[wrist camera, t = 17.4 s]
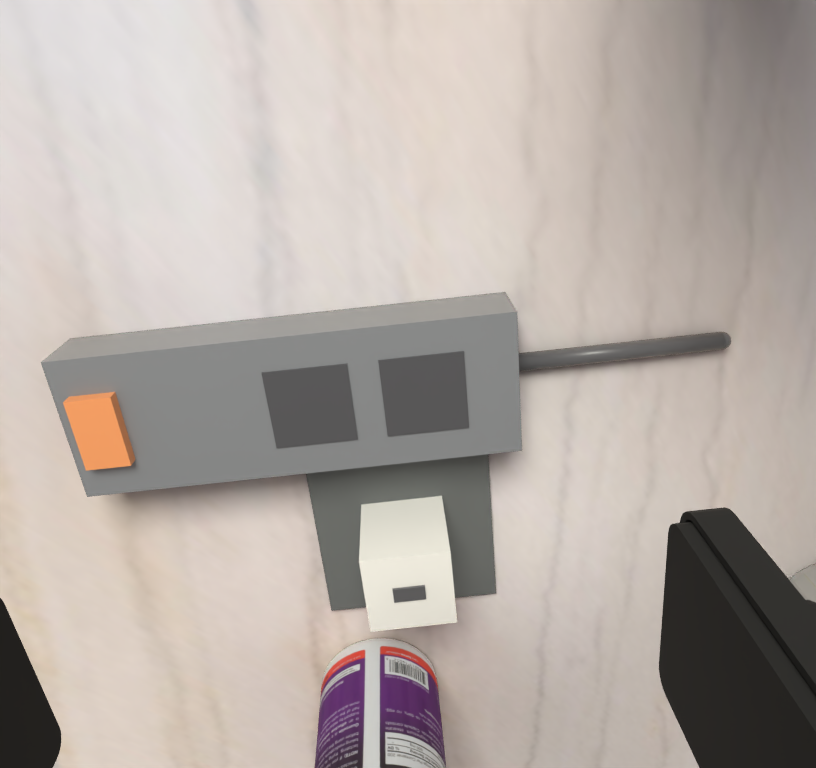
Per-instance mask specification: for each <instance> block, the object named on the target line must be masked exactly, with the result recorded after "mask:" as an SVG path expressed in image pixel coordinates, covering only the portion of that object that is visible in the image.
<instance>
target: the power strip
mask: <svg viewBox="0 0 816 768" xmlns="http://www.w3.org/2000/svg"><path fill="white" fill-rule="evenodd" d="M730 344H731V337H730V336H729V335H728V334H727V333H725V332H715V333H706V334H696V335H687V336H678V337H668V338H659V339H649V340H640V341H631V342H621V343H612V344H602V345H593V346H584V347H574V348H565V349H555V350H546V351H537V352H527V353H519V351H518V322H517V311H516V309H515V307H514V306H513V304H512V303H511V301H510V299H509V298H508V296H507V294H506V293H505V292H503V293H493V294H484V295H474V296H465V297H456V298H446V299H437V300H428V301H418V302H409V303H400V304H390V305H381V306H371V307H362V308H353V309H343V310H334V311H325V312H315V313H306V314H296V315H287V316H278V317H268V318H259V319H250V320H240V321H231V322H222V323H212V324H203V325H193V326H184V327H175V328H165V329H156V330H147V331H137V332H128V333H119V334H109V335H100V336H90V337H81V338H72V339H69V340H68V341H67V342H65V343H64V344H63V345H62V346H60V347H59V348H58V349H57V350H56V351H54V352H53V353H52V354H51V355H49V356H48V357H47V358H46V359H45V360H43V361H42V362H41V364H42V367H43V370H44V373H45V376H46V379H47V382H48V385H49V387H50V390H51V393H52V396H53V399H54V402H55V405H56V408H57V411H58V414H59V416H60V419H61V422H62V425H63V428H64V431H65V434H66V437H67V440H68V442H69V445H70V448H71V451H72V454H73V457H74V460H75V463H76V466H77V469H78V471H79V474H80V477H81V480H82V483H83V486H84V489H85V492H86V495H87V497H90V496H99V495H109V494H118V493H127V492H137V491H146V490H156V489H165V488H175V487H184V486H193V485H203V484H212V483H222V482H231V481H241V480H250V479H259V478H269V477H278V476H288V475H297V474H307V473H316V472H325V471H335V470H344V469H354V468H363V467H373V466H382V465H391V464H401V463H410V462H420V461H429V460H439V459H448V458H457V457H467V456H476V455H486V454H495V453H505V452H514V451H522V440H521V410H520V381H519V371H526V370H535V369H544V368H554V367H563V366H573V365H582V364H591V363H601V362H610V361H620V360H629V359H638V358H648V357H657V356H667V355H676V354H685V353H695V352H704V351H714V350H723V349H726V348H727V347H729V345H730Z"/></svg>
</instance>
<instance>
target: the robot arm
mask: <svg viewBox="0 0 816 768" xmlns="http://www.w3.org/2000/svg"><path fill="white" fill-rule="evenodd" d="M659 672H660V678H661V683H662V686H663V690H664V692H665V695H666V697H667V699H668V701H669V703H670V705H671V708H672V710H673V712H674V714H675V716H676V718H677V720H678V723H679V725H680V727H681V729H682V731H683V733H684V735H685V738H686V740H687V742H688V744H689V746H690V748H691V750H692V753H693V755H694V757H695V759H696V761H697V763H698V765H699V768H816V603H815V602H813V601H811V600H805V599H804V597H803V596H802V595H801V594H800V593H799V591H798V590H797V589H796V588H795V587H794V585H793V584H792V583H791V582H790V580H789V579H788V578H787V577H786V576H785V574H784V573H783V572H782V571H781V570H780V568H779V567H778V566H777V565H776V563H775V562H774V561H773V560H772V559H771V557H770V556H769V555H768V554H767V553H766V551H765V550H764V549H763V548H762V546H761V545H760V544H759V543H758V542H757V540H756V539H755V538H754V537H753V536H752V534H751V533H750V532H749V531H748V529H747V528H746V527H745V526H744V525H743V523H742V522H741V521H740V520H739V519H738V517H737V516H736V515H735V514H734V513H733V512H732V511H731V510H730V509H728V508H716V509H706V510H697V511H687V512H685V513H683V515H682V516H681V520H680V523H676V524H672V525H671V526H670V528H669V532H668V545H667V559H666V573H665V588H664V602H663V616H662V630H661V645H660V659H659ZM60 746H61V731H60V728H59V725H58V723H57V721H56V718H55V716H54V714H53V712H52V709H51V707H50V705H49V703H48V700H47V698H46V696H45V694H44V692H43V689H42V687H41V685H40V683H39V680H38V678H37V676H36V674H35V671H34V669H33V667H32V665H31V662H30V660H29V658H28V656H27V653H26V651H25V649H24V647H23V644H22V642H21V640H20V638H19V636H18V633H17V631H16V629H15V627H14V624H13V622H12V620H11V618H10V615H9V613H8V611H7V609H6V606H5V604H4V602H3V601H2V599H1V598H0V768H52V767H53V766H54V764H55V762H56V759H57V757H58V754H59V751H60Z"/></svg>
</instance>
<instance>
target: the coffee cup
mask: <svg viewBox="0 0 816 768" xmlns="http://www.w3.org/2000/svg"><path fill="white" fill-rule="evenodd" d="M790 582H791V583H792V584H793V585H794V587H795V588H796V589H797V590H798V591H799V593H800V594H801V595H802V596H803V597H804V599H805V600H811V601H813V602H815V603H816V564H813V565H811V566H809V567H807V568H805V569H803V570H801V571H800V572H798V573H797V574H796V575H794V576H793V577H792V578H791V579H790Z"/></svg>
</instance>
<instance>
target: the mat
mask: <svg viewBox="0 0 816 768" xmlns="http://www.w3.org/2000/svg"><path fill="white" fill-rule="evenodd" d="M306 475H307V481H308V486H309V492H310V497H311V502H312V508H313V513H314V518H315V524H316V529H317V535H318V540H319V545H320V551H321V556H322V561H323V567H324V572H325V578H326V583H327V588H328V594H329V599H330V604H331V610H332V611H333V610H343V609H352V608H361V607H366V602H365V596H364V590H363V583H362V577H361V571H360V565H359V549H360V525H361V505H362V504H371V503H380V502H389V501H398V500H407V499H417V498H426V497H435V496H442V500H443V506H444V513H445V519H446V526H447V532H448V539H449V545H450V552H451V562H452V572H453V583H454V594H455V598H456V597H466V596H475V595H485V594H494V593H496V586H495V569H494V551H493V534H492V516H491V499H490V482H489V464H488V454H486V455H476V456H467V457H457V458H448V459H439V460H429V461H420V462H410V463H401V464H391V465H382V466H373V467H363V468H354V469H344V470H335V471H325V472H316V473H307V474H306Z"/></svg>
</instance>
